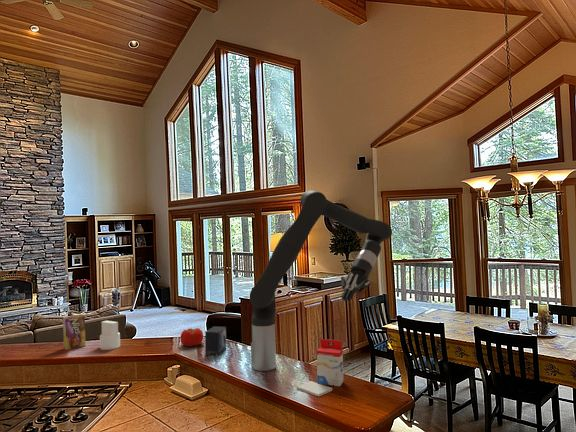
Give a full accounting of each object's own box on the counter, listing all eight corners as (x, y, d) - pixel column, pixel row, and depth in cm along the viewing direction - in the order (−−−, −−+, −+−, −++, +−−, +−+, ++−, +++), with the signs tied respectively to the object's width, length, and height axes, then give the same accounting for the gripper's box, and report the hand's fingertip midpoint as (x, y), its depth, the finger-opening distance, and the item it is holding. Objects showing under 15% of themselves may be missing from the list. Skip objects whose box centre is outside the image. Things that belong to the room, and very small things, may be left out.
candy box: (83, 344, 210) (82, 313, 210) (85, 346, 207) (85, 314, 207) (63, 348, 204) (62, 316, 204) (65, 350, 201) (65, 317, 201)
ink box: (316, 383, 149) (315, 342, 150) (321, 379, 154) (319, 338, 154) (340, 386, 146) (339, 344, 146) (344, 381, 151) (342, 340, 151)
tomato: (204, 341, 209) (204, 326, 209) (201, 347, 198) (201, 331, 198) (182, 342, 209) (182, 327, 209) (178, 348, 198) (178, 332, 198)
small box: (218, 356, 185) (218, 332, 185) (204, 355, 186) (204, 331, 186) (227, 349, 195) (226, 326, 195) (213, 348, 196) (213, 325, 196)
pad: (296, 388, 145) (296, 386, 145) (310, 383, 150) (310, 380, 150) (318, 396, 138) (318, 394, 138) (332, 390, 143) (332, 388, 143)
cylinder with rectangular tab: (95, 348, 203) (95, 323, 203) (112, 343, 210) (111, 319, 211) (107, 350, 198) (107, 324, 198) (124, 345, 206) (123, 320, 206)
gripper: (345, 257, 169) (326, 291, 161) (374, 258, 160) (355, 295, 151) (354, 269, 173) (336, 303, 164) (382, 271, 163) (364, 308, 154)
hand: (345, 299), depth 157 cm, fingers closed
